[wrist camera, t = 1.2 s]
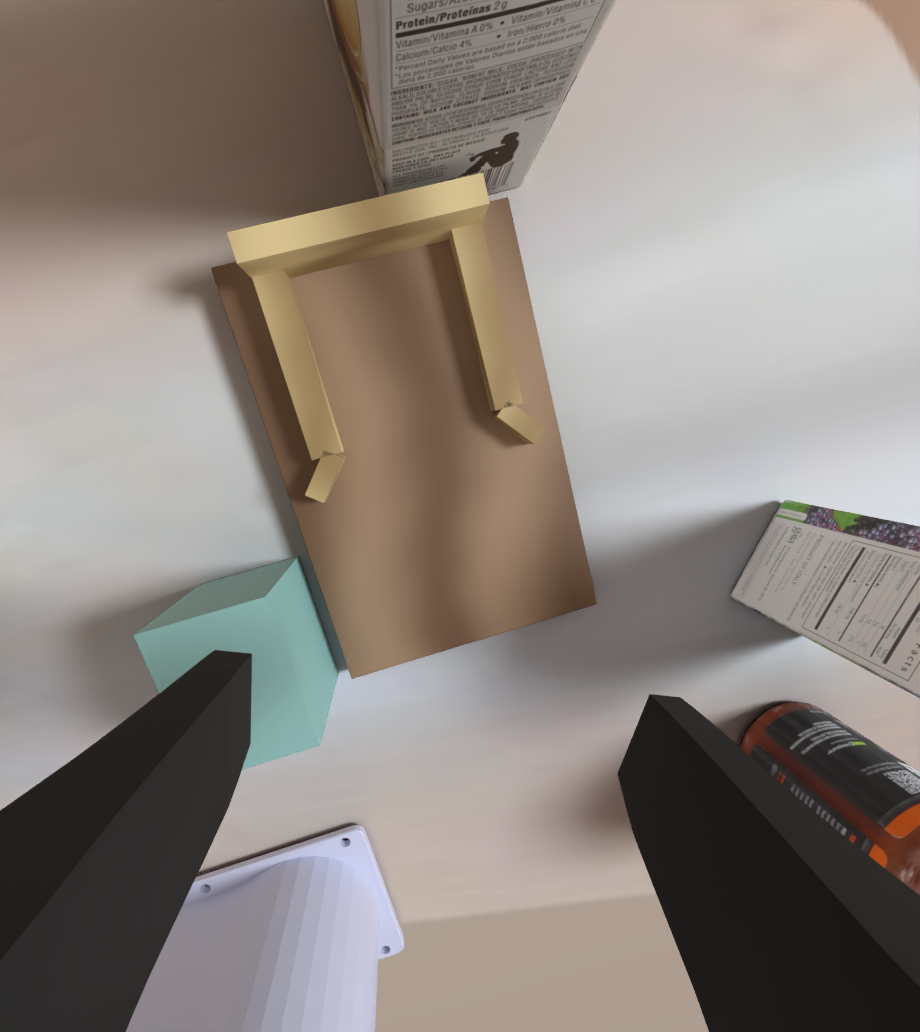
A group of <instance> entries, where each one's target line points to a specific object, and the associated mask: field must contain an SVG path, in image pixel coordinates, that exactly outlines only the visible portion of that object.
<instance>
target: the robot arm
mask: <svg viewBox="0 0 920 1032" xmlns="http://www.w3.org/2000/svg"><path fill="white" fill-rule="evenodd" d="M251 688H252V654H251V653H241V652H231V651H221V650H214V651H213V652H211V653H210V654H208V655H207V656H206V657H204V658H203V659H202V660H201V661H199V662H198V663H197V664H195V665H194V666H193V667H192V668H190V669H189V670H188V671H187V672H186V673H184V674H183V675H182V676H181V677H179V678H178V679H177V680H176V681H174V682H173V683H172V684H171V685H169V686H168V687H167V688H166V689H164V690H163V691H162V692H161V693H159V694H158V695H157V696H155V697H154V698H153V699H152V700H150V701H149V702H148V703H147V704H145V705H144V706H143V707H142V708H140V709H139V710H138V711H136V712H135V713H134V714H132V715H131V716H130V717H129V718H127V719H126V720H125V721H123V722H122V723H121V724H119V725H118V726H117V727H115V728H114V729H113V730H111V731H110V732H109V733H108V734H106V735H105V736H104V737H102V738H101V739H100V740H98V741H97V742H96V743H94V744H93V745H92V746H90V747H89V748H88V749H86V750H85V751H84V752H82V753H81V754H80V755H78V756H77V757H76V758H74V759H73V760H71V761H70V762H68V763H67V764H66V765H64V766H63V767H61V768H60V769H59V770H57V771H56V772H54V773H53V774H52V775H50V776H49V777H47V778H46V779H44V780H43V781H42V782H40V783H39V784H37V785H36V786H35V787H33V788H32V789H30V790H29V791H28V792H26V793H25V794H23V795H22V796H20V797H19V798H18V799H16V800H15V801H13V802H12V803H11V804H9V805H8V806H6V807H5V808H3V809H2V810H0V1032H375V1018H376V995H377V994H376V993H377V972H378V960H379V959H382V958H385V957H388V956H391V955H394V954H397V953H399V952H400V951H401V950H402V949H403V947H404V936H403V934H402V931H401V928H400V925H399V922H398V920H397V917H396V914H395V911H394V909H393V906H392V903H391V900H390V898H389V895H388V892H387V889H386V886H385V884H384V881H383V878H382V875H381V873H380V870H379V867H378V864H377V862H376V859H375V856H374V853H373V851H372V848H371V845H370V842H369V840H368V837H367V834H366V831H365V829H364V828H363V827H362V826H359V825H353V826H350V827H347V828H344V829H341V830H338V831H335V832H331V833H328V834H325V835H322V836H319V837H316V838H313V839H310V840H307V841H304V842H301V843H298V844H295V845H292V846H289V847H286V848H283V849H280V850H277V851H274V852H271V853H268V854H265V855H262V856H259V857H255V858H252V859H249V860H246V861H243V862H240V863H237V864H234V865H231V866H228V867H225V868H222V869H219V870H216V871H213V872H210V873H207V874H204V875H201V876H198V877H196V876H197V874H198V872H199V870H200V867H201V865H202V863H203V861H204V859H205V857H206V855H207V852H208V850H209V848H210V846H211V844H212V842H213V839H214V837H215V835H216V833H217V831H218V829H219V827H220V824H221V822H222V820H223V818H224V816H225V813H226V811H227V809H228V807H229V804H230V801H231V799H232V796H233V793H234V790H235V787H236V785H237V782H238V779H239V776H240V773H241V770H242V767H243V764H244V762H245V759H246V756H247V753H248V750H249V747H250V744H251ZM618 777H619V781H620V785H621V789H622V793H623V797H624V801H625V805H626V809H627V812H628V816H629V819H630V823H631V827H632V830H633V834H634V836H635V839H636V842H637V844H638V847H639V850H640V852H641V855H642V858H643V860H644V863H645V865H646V868H647V871H648V873H649V876H650V878H651V881H652V884H653V886H654V889H655V891H656V894H657V896H658V899H659V901H660V904H661V906H662V909H663V912H664V914H665V917H666V919H667V921H668V924H669V927H670V929H671V932H672V934H673V937H674V939H675V942H676V945H677V947H678V949H679V952H680V955H681V957H682V960H683V962H684V965H685V967H686V970H687V972H688V975H689V978H690V980H691V983H692V985H693V988H694V990H695V993H696V996H697V999H698V1002H699V1004H700V1007H701V1010H702V1013H703V1015H704V1018H705V1021H706V1024H707V1027H708V1030H709V1032H920V895H919V894H918V893H916V892H915V891H914V890H912V889H911V888H910V887H908V886H907V885H906V884H905V883H903V882H902V881H901V880H899V879H898V878H897V877H895V876H894V875H893V874H891V873H890V872H889V871H888V870H886V869H885V868H884V867H883V866H881V865H880V864H879V863H878V862H876V861H875V860H874V859H873V858H871V857H870V856H869V855H868V854H866V853H865V852H864V851H863V850H861V849H860V848H859V847H858V846H856V845H855V844H854V843H853V842H851V841H850V840H849V839H848V838H846V837H845V836H844V835H843V834H841V833H840V832H839V831H838V830H836V829H835V828H834V827H833V826H832V825H830V824H829V823H828V822H827V821H826V820H824V819H823V818H822V817H821V816H820V815H818V814H817V813H816V812H815V811H814V810H812V809H811V808H810V807H809V806H808V805H806V804H805V803H804V802H803V801H802V800H800V799H799V798H798V797H797V796H796V795H795V794H793V793H792V792H791V791H790V790H789V789H788V788H786V787H785V786H784V785H783V784H782V783H781V782H779V781H778V780H777V779H776V778H775V777H774V776H772V775H771V774H770V773H769V772H768V771H767V770H766V769H764V768H763V767H762V766H761V765H760V764H759V763H757V762H756V761H755V760H754V759H753V758H752V757H751V756H749V755H748V754H747V753H746V752H745V751H744V750H742V749H741V748H740V747H739V746H738V745H737V744H736V743H734V742H733V741H732V740H731V739H730V738H729V737H728V736H726V735H725V734H724V733H723V732H722V731H721V730H719V729H718V728H717V727H716V726H715V725H714V724H712V723H711V722H710V721H709V720H708V719H706V718H705V717H704V716H703V715H702V714H701V713H699V712H698V711H697V710H696V709H694V708H693V707H692V706H691V705H689V704H688V703H687V702H685V701H684V700H683V699H682V698H680V697H671V696H661V695H651V694H650V695H649V697H648V700H647V702H646V705H645V707H644V710H643V712H642V715H641V717H640V720H639V722H638V725H637V727H636V729H635V732H634V734H633V737H632V739H631V742H630V744H629V747H628V749H627V752H626V754H625V757H624V759H623V762H622V764H621V767H620V769H619V771H618ZM343 838H348V839H349V840H346V841H345V840H342V839H343ZM204 884H207V885H209V886H206V885H204Z"/></svg>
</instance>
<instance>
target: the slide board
mask: <svg viewBox="0 0 920 1032" xmlns="http://www.w3.org/2000/svg"><path fill="white" fill-rule="evenodd" d="M227 235H228V238H229V241H230V244H231V247H232V250H233V253H234V256H235V259H236V262H234V263H230V264H226V265H221V266H217V267H213V268H211V269H212V272H213V275H214V278H215V281H216V284H217V287H218V290H219V293H220V296H221V299H222V301H223V304H224V307H225V310H226V313H227V316H228V319H229V322H230V325H231V328H232V331H233V334H234V337H235V339H236V342H237V345H238V348H239V351H240V354H241V357H242V360H243V363H244V366H245V369H246V372H247V374H248V377H249V380H250V383H251V386H252V389H253V392H254V395H255V398H256V401H257V404H258V407H259V410H260V412H261V415H262V418H263V421H264V424H265V427H266V430H267V433H268V436H269V439H270V442H271V445H272V447H273V450H274V453H275V456H276V459H277V462H278V465H279V468H280V471H281V474H282V477H283V480H284V483H285V485H286V488H287V491H288V494H289V497H290V500H291V503H292V506H293V509H294V512H295V515H296V518H297V520H298V523H299V526H300V529H301V532H302V535H303V538H304V541H305V544H306V547H307V550H308V553H309V556H310V558H311V561H312V564H313V567H314V570H315V573H316V576H317V579H318V582H319V585H320V588H321V591H322V593H323V596H324V599H325V602H326V605H327V608H328V611H329V614H330V617H331V620H332V623H333V626H334V629H335V631H336V634H337V637H338V640H339V643H340V646H341V649H342V652H343V655H344V658H345V661H346V664H347V666H348V669H349V672H350V675H351V678H352V679H353V678H357V677H360V676H363V675H366V674H370V673H373V672H376V671H379V670H383V669H386V668H389V667H392V666H396V665H399V664H402V663H406V662H409V661H412V660H415V659H419V658H422V657H425V656H428V655H432V654H435V653H438V652H441V651H445V650H448V649H451V648H454V647H458V646H461V645H464V644H468V643H471V642H474V641H477V640H481V639H484V638H487V637H490V636H494V635H497V634H500V633H503V632H507V631H510V630H513V629H517V628H520V627H523V626H526V625H530V624H533V623H536V622H539V621H543V620H546V619H549V618H552V617H556V616H559V615H562V614H565V613H569V612H572V611H575V610H579V609H582V608H585V607H588V606H592V605H595V604H597V602H596V598H595V593H594V589H593V584H592V580H591V575H590V570H589V566H588V561H587V557H586V552H585V548H584V543H583V538H582V534H581V529H580V525H579V520H578V515H577V511H576V506H575V502H574V497H573V493H572V488H571V483H570V479H569V474H568V470H567V465H566V461H565V456H564V451H563V447H562V442H561V438H560V433H559V429H558V424H557V419H556V415H555V410H554V406H553V401H552V397H551V392H550V387H549V383H548V378H547V374H546V369H545V365H544V360H543V355H542V351H541V346H540V342H539V337H538V333H537V328H536V323H535V319H534V314H533V310H532V305H531V300H530V296H529V291H528V287H527V282H526V278H525V273H524V268H523V264H522V259H521V255H520V250H519V246H518V241H517V236H516V232H515V227H514V223H513V218H512V214H511V209H510V204H509V200H508V197H507V198H503V199H499V200H495V201H490V202H489V198H488V193H487V189H486V184H485V180H484V176H483V173H479V174H475V175H470V176H466V177H462V178H458V179H453V180H449V181H445V182H440V183H436V184H432V185H428V186H423V187H419V188H415V189H410V190H406V191H402V192H398V193H393V194H389V195H385V196H380V197H376V198H372V199H367V200H363V201H359V202H355V203H350V204H346V205H342V206H337V207H333V208H329V209H325V210H320V211H316V212H312V213H307V214H303V215H299V216H295V217H290V218H286V219H282V220H277V221H273V222H269V223H265V224H260V225H256V226H252V227H247V228H243V229H239V230H234V231H230V232H227Z"/></svg>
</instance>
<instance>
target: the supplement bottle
mask: <svg viewBox="0 0 920 1032" xmlns="http://www.w3.org/2000/svg"><path fill="white" fill-rule="evenodd" d="M741 749H742V750H744V751H745V752H746V753H747V754H748V755H749V756H751V757H752V758H753V759H754V760H755V761H756V762H757V763H759V764H760V765H761V766H762V767H763V768H764V769H766V770H767V771H768V772H769V773H770V774H771V775H772V776H774V777H775V778H776V779H777V780H778V781H779V782H781V783H782V784H783V785H784V786H785V787H786V788H788V789H789V790H790V791H791V792H792V793H793V794H795V795H796V796H797V797H798V798H799V799H800V800H802V801H803V802H804V803H805V804H806V805H808V806H809V807H810V808H811V809H812V810H814V811H815V812H816V813H817V814H818V815H820V816H821V817H822V818H823V819H824V820H826V821H827V822H828V823H829V824H830V825H832V826H833V827H834V828H835V829H836V830H838V831H839V832H840V833H841V834H843V835H844V836H845V837H846V838H848V839H849V840H850V841H851V842H853V843H854V844H855V845H856V846H858V847H859V848H860V849H861V850H863V851H864V852H865V853H866V854H868V855H869V856H870V857H871V858H873V859H874V860H875V861H876V862H878V863H879V864H880V865H881V866H883V867H884V868H885V869H886V870H888V871H889V872H890V873H891V874H893V875H894V876H895V877H897V878H898V879H899V880H901V881H902V882H903V883H905V884H906V885H907V886H908V887H910V888H911V889H912V890H914V891H915V892H916V893H918V894H919V895H920V772H918V771H917V770H915V769H914V768H912V767H910V766H909V765H908V764H906V763H905V762H903V761H901V760H900V759H898V758H897V757H895V756H894V755H892V754H890V753H889V752H887V751H886V750H884V749H883V748H881V747H879V746H878V745H877V744H875V743H873V742H872V741H870V740H869V739H867V738H866V737H864V736H862V735H861V734H860V733H858V732H856V731H855V730H853V729H852V728H850V727H849V726H847V725H846V724H844V723H842V722H841V721H839V720H838V719H836V718H835V717H833V716H832V715H830V714H828V713H826V712H824V711H823V710H821V709H820V708H818V707H816V706H814V705H811V704H808V703H800V702H791V703H785V704H782V705H778V706H776V707H773V708H771V709H769V710H768V711H766V712H765V713H764V714H762V715H761V716H760V717H759V718H758V719H757V720H756V721H755V722H754V723H753V724H752V725H751V726H750V727H749V730H748V731H747V733H746V734H745V736H744V739H743V741H742V744H741Z"/></svg>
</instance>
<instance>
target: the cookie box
mask: <svg viewBox="0 0 920 1032" xmlns="http://www.w3.org/2000/svg"><path fill="white" fill-rule="evenodd" d="M615 1H616V0H323V2H324V5H325V9H326V13H327V16H328V20H329V23H330V26H331V30H332V33H333V37H334V40H335V44H336V47H337V51H338V54H339V57H340V61H341V64H342V68H343V71H344V75H345V78H346V82H347V85H348V89H349V92H350V95H351V99H352V103H353V106H354V110H355V113H356V117H357V120H358V124H359V127H360V131H361V134H362V138H363V141H364V145H365V148H366V152H367V155H368V159H369V162H370V166H371V169H372V173H373V176H374V180H375V183H376V187H377V190H378V194H379V197H380V196H385V195H389V194H393V193H398V192H402V191H406V190H410V189H415V188H419V187H423V186H428V185H432V184H436V183H440V182H445V181H449V180H453V179H458V178H462V177H466V176H470V175H475V174H479V173H483V176H484V180H485V184H486V189H487V193H488V194H492V193H496V192H500V191H504V190H508V189H512V188H516V187H519V186H521V184H522V183H523V181H524V178H525V176H526V174H527V172H528V170H529V168H530V166H531V164H532V162H533V160H534V159H535V157H536V155H537V153H538V151H539V149H540V147H541V145H542V143H543V141H544V139H545V137H546V135H547V133H548V131H549V129H550V127H551V125H552V123H553V122H554V120H555V118H556V116H557V114H558V111H559V109H560V107H561V105H562V104H563V102H564V100H565V98H566V96H567V94H568V92H569V90H570V88H571V86H572V84H573V82H574V81H575V79H576V77H577V74H578V72H579V71H580V69H581V67H582V65H583V63H584V61H585V59H586V57H587V55H588V53H589V52H590V50H591V48H592V46H593V44H594V42H595V40H596V38H597V36H598V34H599V32H600V30H601V29H602V27H603V25H604V23H605V21H606V19H607V17H608V15H609V13H610V11H611V9H612V7H613V5H614V3H615Z"/></svg>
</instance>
